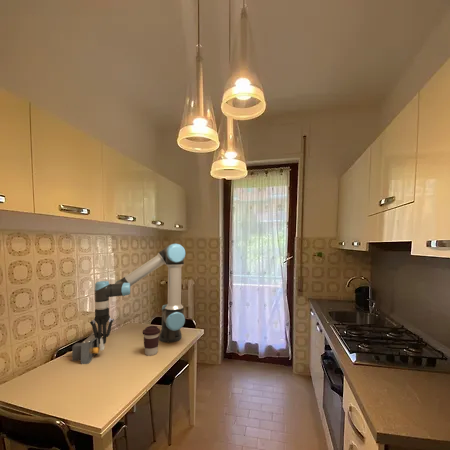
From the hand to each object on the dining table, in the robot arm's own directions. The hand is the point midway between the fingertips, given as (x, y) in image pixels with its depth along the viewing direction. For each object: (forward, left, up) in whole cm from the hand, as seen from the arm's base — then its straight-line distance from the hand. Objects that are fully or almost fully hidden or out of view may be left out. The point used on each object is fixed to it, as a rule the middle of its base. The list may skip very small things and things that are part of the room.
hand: (102, 349), depth 150 cm
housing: (+6, 0, -4) cm, 8 cm away
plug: (+9, 0, -4) cm, 10 cm away
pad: (+18, -6, -4) cm, 20 cm away
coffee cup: (-28, -1, -4) cm, 28 cm away
